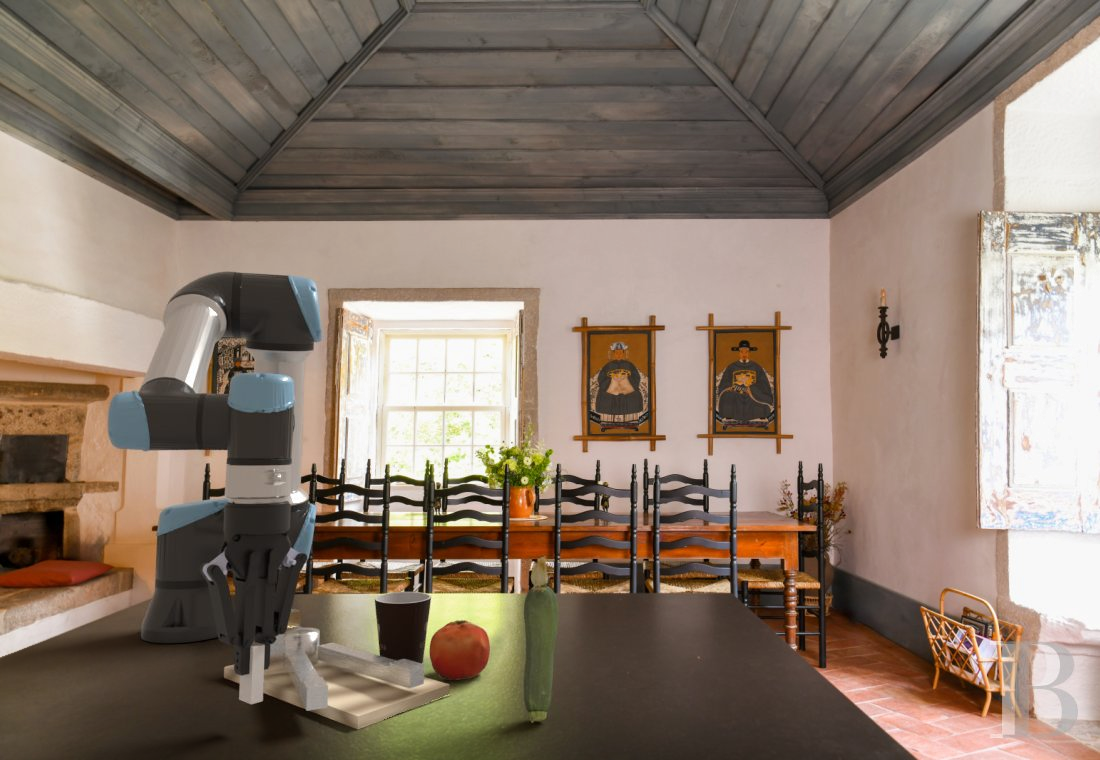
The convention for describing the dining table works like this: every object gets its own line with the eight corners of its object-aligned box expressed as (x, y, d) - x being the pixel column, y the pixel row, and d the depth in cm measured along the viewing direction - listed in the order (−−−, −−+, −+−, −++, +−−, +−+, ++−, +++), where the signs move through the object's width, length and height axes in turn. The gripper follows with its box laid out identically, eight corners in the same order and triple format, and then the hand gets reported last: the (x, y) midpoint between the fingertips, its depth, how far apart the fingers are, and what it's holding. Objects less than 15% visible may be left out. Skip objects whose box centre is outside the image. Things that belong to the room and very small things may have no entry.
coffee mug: (417, 674, 109) (419, 604, 110) (363, 670, 111) (365, 602, 111) (444, 652, 120) (445, 589, 121) (394, 649, 122) (396, 587, 123)
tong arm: (284, 665, 105) (284, 646, 105) (302, 662, 106) (302, 644, 106) (306, 710, 87) (307, 688, 87) (327, 707, 88) (328, 686, 88)
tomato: (440, 690, 102) (441, 631, 102) (419, 672, 110) (420, 617, 111) (502, 680, 106) (502, 623, 107) (477, 663, 114) (478, 610, 115)
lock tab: (269, 624, 112) (269, 610, 112) (285, 621, 114) (286, 606, 115) (284, 628, 110) (284, 613, 110) (300, 625, 112) (301, 610, 112)
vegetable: (522, 713, 93) (523, 552, 95) (556, 713, 93) (557, 552, 95) (524, 727, 89) (525, 557, 90) (560, 726, 89) (560, 557, 91)
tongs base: (259, 658, 111) (260, 627, 112) (291, 650, 115) (291, 621, 116) (391, 702, 92) (392, 665, 93) (423, 691, 97) (424, 656, 97)
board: (223, 677, 107) (224, 666, 107) (314, 654, 119) (314, 645, 119) (357, 729, 88) (358, 716, 88) (449, 695, 99) (449, 684, 100)
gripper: (222, 505, 83) (213, 723, 81) (322, 498, 93) (316, 692, 91) (189, 501, 87) (180, 708, 85) (289, 495, 97) (282, 680, 95)
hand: (250, 700), depth 88 cm, fingers closed
